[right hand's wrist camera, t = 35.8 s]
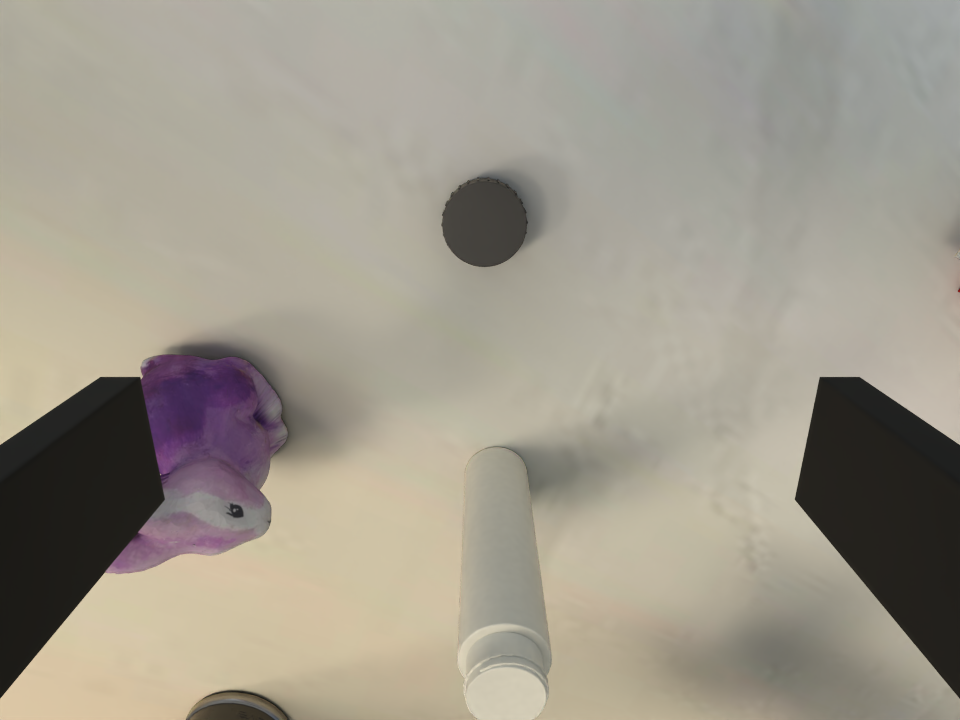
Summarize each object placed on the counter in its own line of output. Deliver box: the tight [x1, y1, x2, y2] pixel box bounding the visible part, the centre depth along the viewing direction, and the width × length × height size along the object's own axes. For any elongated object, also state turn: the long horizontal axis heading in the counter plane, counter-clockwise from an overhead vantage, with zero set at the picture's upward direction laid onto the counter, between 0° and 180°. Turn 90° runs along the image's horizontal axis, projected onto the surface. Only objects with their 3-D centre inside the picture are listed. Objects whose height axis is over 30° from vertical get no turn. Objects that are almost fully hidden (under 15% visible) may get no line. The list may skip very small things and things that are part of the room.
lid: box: [442, 177, 528, 267], centre depth 40 cm, size 5×5×2 cm
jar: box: [457, 447, 552, 720], centre depth 38 cm, size 5×5×20 cm
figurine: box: [106, 355, 288, 574], centre depth 38 cm, size 9×10×15 cm
